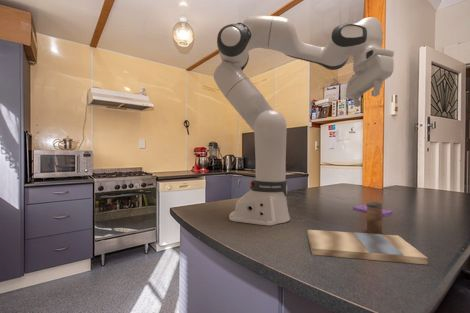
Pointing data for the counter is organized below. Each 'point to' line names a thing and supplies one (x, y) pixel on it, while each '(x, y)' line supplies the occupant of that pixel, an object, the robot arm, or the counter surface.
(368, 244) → the plywood board
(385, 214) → the sponges
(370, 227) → the peg
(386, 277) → the counter surface
